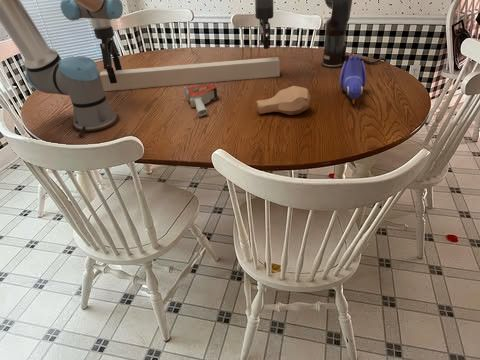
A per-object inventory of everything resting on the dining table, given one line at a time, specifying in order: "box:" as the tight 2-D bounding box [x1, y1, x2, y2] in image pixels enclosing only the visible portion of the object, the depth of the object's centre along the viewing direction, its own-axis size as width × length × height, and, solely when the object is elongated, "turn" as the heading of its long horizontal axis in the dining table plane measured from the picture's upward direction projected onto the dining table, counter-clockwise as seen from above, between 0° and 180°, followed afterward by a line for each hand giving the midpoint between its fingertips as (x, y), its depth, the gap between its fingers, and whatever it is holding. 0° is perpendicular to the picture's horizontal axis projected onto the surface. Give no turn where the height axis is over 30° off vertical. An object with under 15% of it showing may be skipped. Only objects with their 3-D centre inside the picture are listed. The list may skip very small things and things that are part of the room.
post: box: [99, 56, 281, 92], centre depth 160 cm, size 80×5×7 cm, turn 95°
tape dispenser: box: [183, 82, 218, 117], centre depth 140 cm, size 18×5×20 cm
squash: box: [255, 85, 312, 116], centre depth 130 cm, size 11×20×9 cm, turn 92°
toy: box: [339, 55, 367, 105], centre depth 136 cm, size 10×17×25 cm
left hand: (116, 77), depth 158 cm, fingers open, 13 cm apart
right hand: (264, 45), depth 156 cm, fingers open, 8 cm apart
